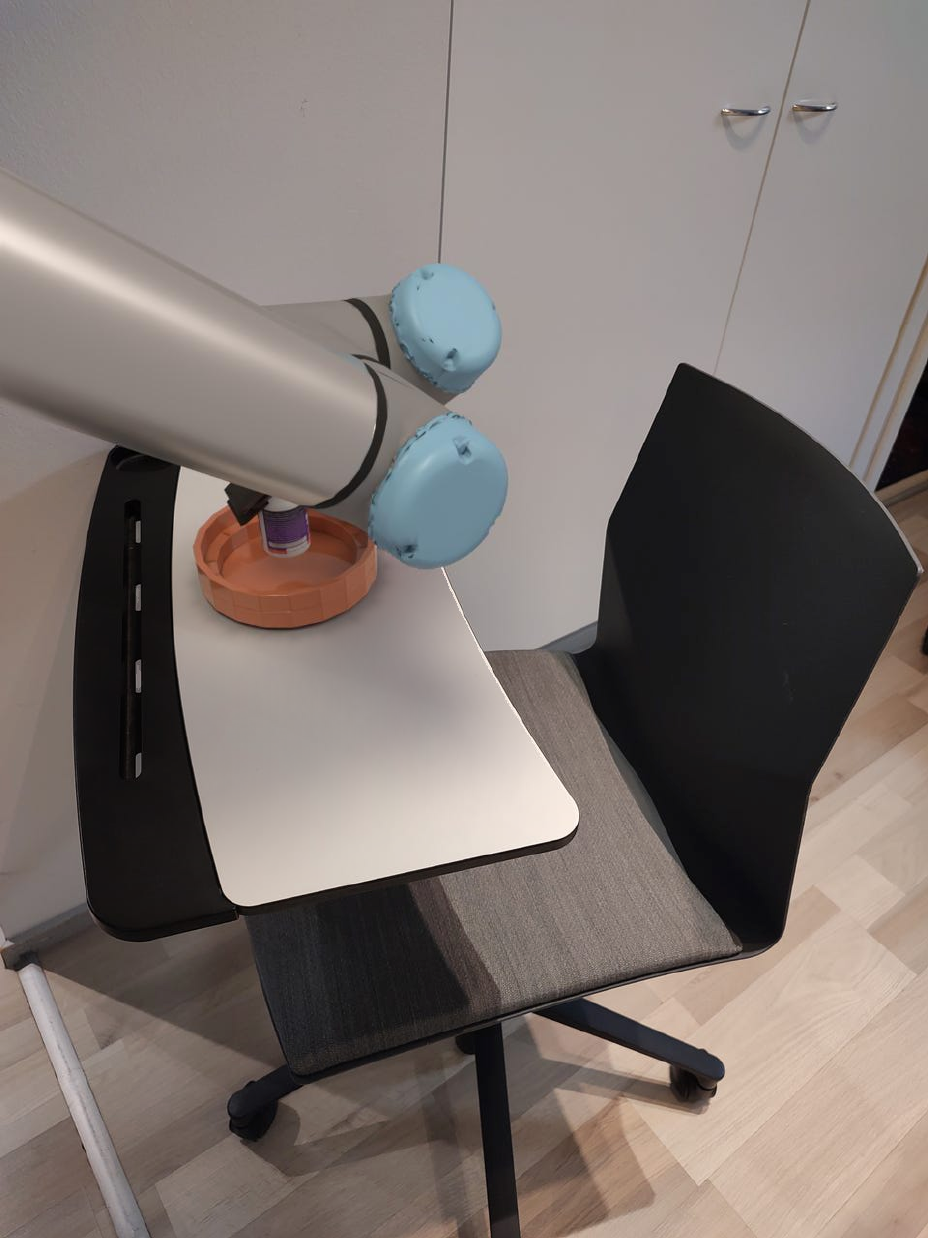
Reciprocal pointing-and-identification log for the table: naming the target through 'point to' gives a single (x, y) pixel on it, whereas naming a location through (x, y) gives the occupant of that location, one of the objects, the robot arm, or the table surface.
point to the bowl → (283, 571)
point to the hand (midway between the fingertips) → (260, 501)
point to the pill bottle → (284, 528)
